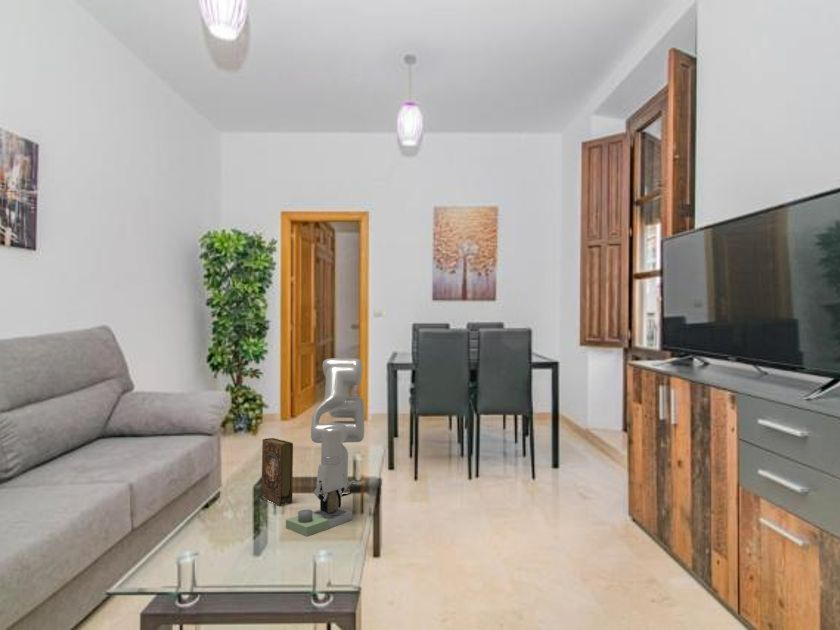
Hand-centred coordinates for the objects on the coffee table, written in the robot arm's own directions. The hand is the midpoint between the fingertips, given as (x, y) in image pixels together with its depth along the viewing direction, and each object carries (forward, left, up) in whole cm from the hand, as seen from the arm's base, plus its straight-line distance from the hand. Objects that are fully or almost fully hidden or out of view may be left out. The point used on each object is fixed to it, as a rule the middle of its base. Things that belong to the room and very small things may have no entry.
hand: (330, 508), depth 193 cm
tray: (0, 0, -4) cm, 4 cm away
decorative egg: (0, 0, -2) cm, 2 cm away
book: (0, -36, -5) cm, 36 cm away
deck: (+11, 0, -4) cm, 12 cm away
